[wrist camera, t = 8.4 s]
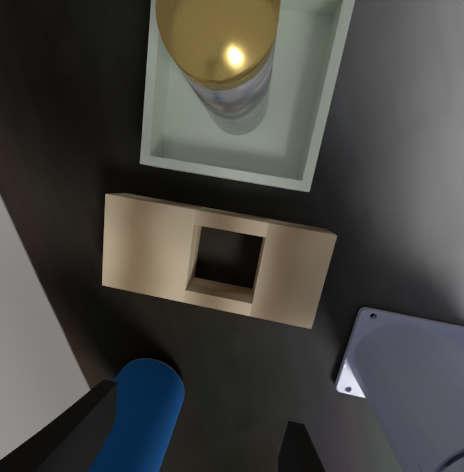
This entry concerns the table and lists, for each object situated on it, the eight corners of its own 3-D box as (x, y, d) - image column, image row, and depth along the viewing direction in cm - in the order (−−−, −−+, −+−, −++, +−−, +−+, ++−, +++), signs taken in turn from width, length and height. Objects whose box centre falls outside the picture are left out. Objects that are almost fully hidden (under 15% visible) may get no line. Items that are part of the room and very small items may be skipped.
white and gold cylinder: (272, 74, 15) (292, -69, 7) (262, 138, 16) (267, 85, 7) (213, 67, 15) (160, -78, 7) (206, 131, 16) (151, 71, 8)
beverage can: (111, 361, 22) (-54, 559, 10) (170, 344, 21) (59, 547, 9) (139, 414, 23) (18, 649, 11) (197, 401, 22) (128, 648, 10)
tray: (342, 13, 14) (361, -25, 12) (301, 191, 17) (309, 192, 14) (171, -7, 15) (154, -46, 12) (156, 167, 17) (139, 163, 15)
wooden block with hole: (325, 228, 17) (337, 235, 15) (304, 310, 19) (311, 328, 16) (125, 192, 18) (105, 193, 16) (121, 273, 20) (102, 285, 17)
